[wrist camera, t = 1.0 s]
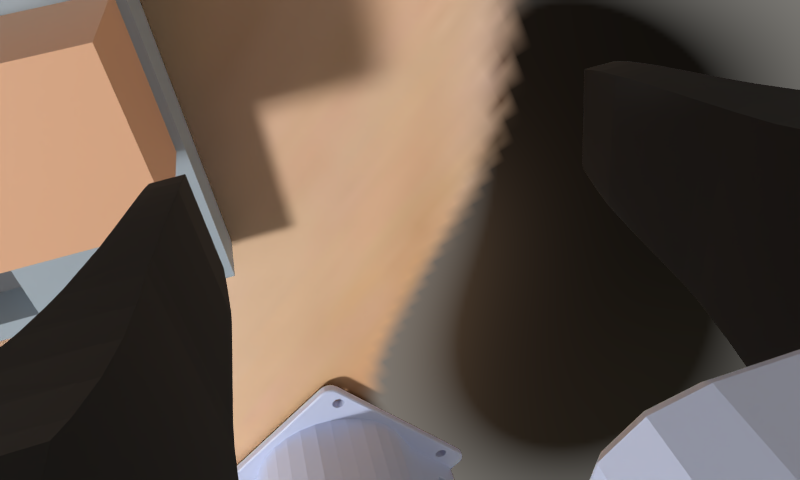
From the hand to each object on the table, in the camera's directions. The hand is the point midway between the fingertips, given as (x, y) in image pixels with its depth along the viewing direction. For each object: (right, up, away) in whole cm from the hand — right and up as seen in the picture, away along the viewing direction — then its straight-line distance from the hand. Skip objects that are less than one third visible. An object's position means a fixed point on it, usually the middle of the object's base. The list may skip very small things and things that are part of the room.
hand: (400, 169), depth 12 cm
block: (-9, +2, +5) cm, 11 cm away
